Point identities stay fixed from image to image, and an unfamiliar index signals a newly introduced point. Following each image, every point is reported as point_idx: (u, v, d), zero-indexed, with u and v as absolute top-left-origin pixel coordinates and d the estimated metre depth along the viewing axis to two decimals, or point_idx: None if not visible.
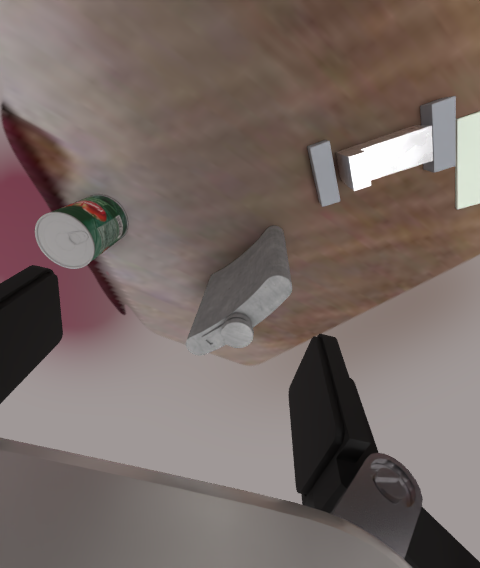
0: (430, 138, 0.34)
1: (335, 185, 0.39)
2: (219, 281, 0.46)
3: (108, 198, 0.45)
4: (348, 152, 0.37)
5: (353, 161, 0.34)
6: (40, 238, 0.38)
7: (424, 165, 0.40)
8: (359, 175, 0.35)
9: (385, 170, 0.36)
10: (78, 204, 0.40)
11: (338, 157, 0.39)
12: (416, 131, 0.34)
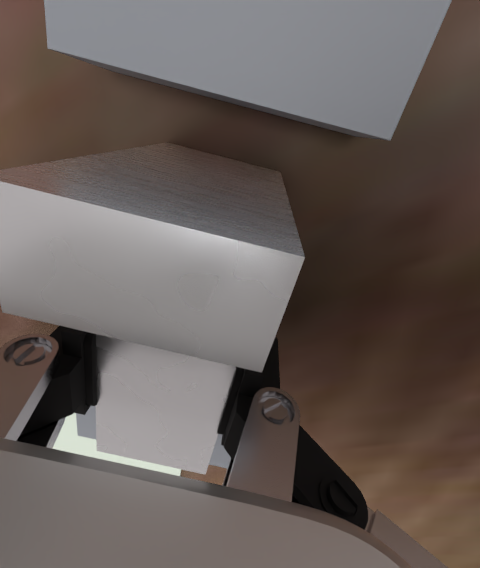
0: (169, 463, 0.10)
1: (151, 61, 0.06)
2: None
3: None
4: None
5: (251, 275, 0.04)
6: None
7: None
8: (113, 273, 0.04)
9: (116, 341, 0.08)
10: None
11: (263, 172, 0.09)
12: (210, 446, 0.10)
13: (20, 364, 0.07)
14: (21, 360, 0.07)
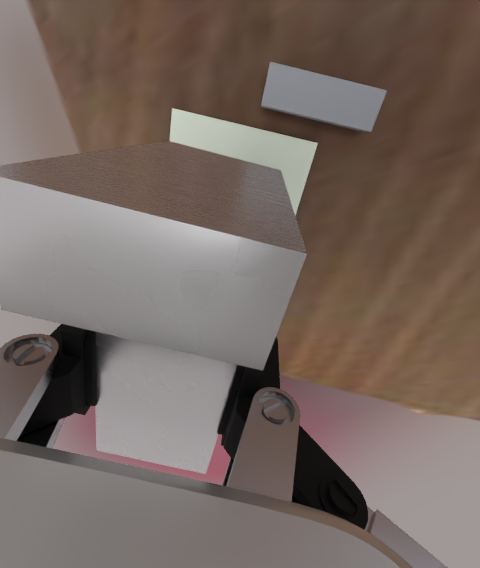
0: (169, 463, 0.10)
1: None
2: None
3: None
4: None
5: (252, 272, 0.04)
6: None
7: None
8: (112, 269, 0.04)
9: (116, 340, 0.08)
10: None
11: (263, 171, 0.09)
12: (211, 446, 0.10)
13: (20, 364, 0.07)
14: (21, 360, 0.07)
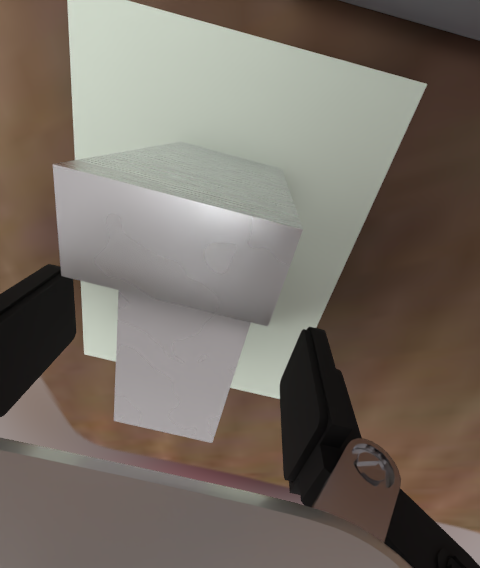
0: (179, 432, 0.11)
1: None
2: None
3: None
4: None
5: (261, 243, 0.05)
6: None
7: None
8: (154, 242, 0.05)
9: (137, 315, 0.09)
10: None
11: (266, 169, 0.10)
12: (217, 415, 0.11)
13: None
14: None
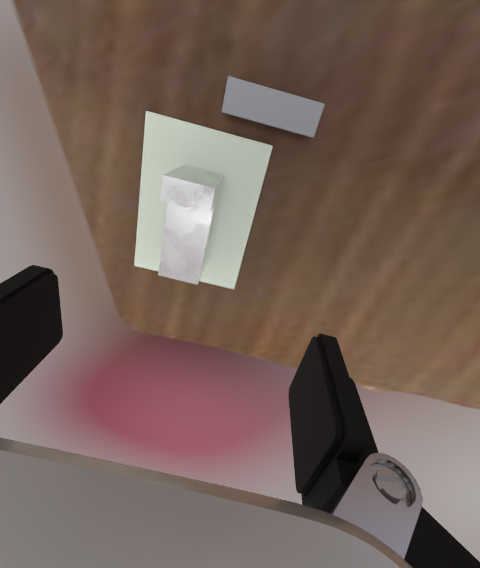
0: (184, 279, 0.29)
1: None
2: None
3: None
4: (218, 190, 0.25)
5: (206, 192, 0.22)
6: None
7: None
8: (183, 192, 0.22)
9: (171, 224, 0.26)
10: None
11: (217, 175, 0.27)
12: (199, 270, 0.28)
13: None
14: None
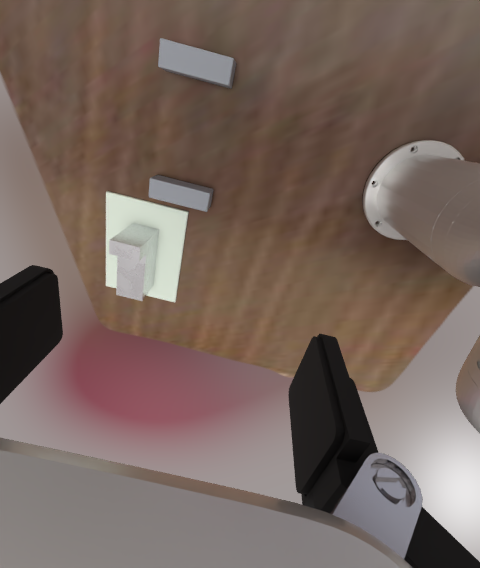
0: (133, 297, 0.44)
1: (179, 69, 0.32)
2: None
3: None
4: (149, 243, 0.40)
5: (135, 249, 0.37)
6: None
7: (160, 176, 0.40)
8: (122, 249, 0.37)
9: (121, 264, 0.41)
10: None
11: (152, 231, 0.42)
12: (142, 291, 0.43)
13: None
14: None
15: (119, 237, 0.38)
